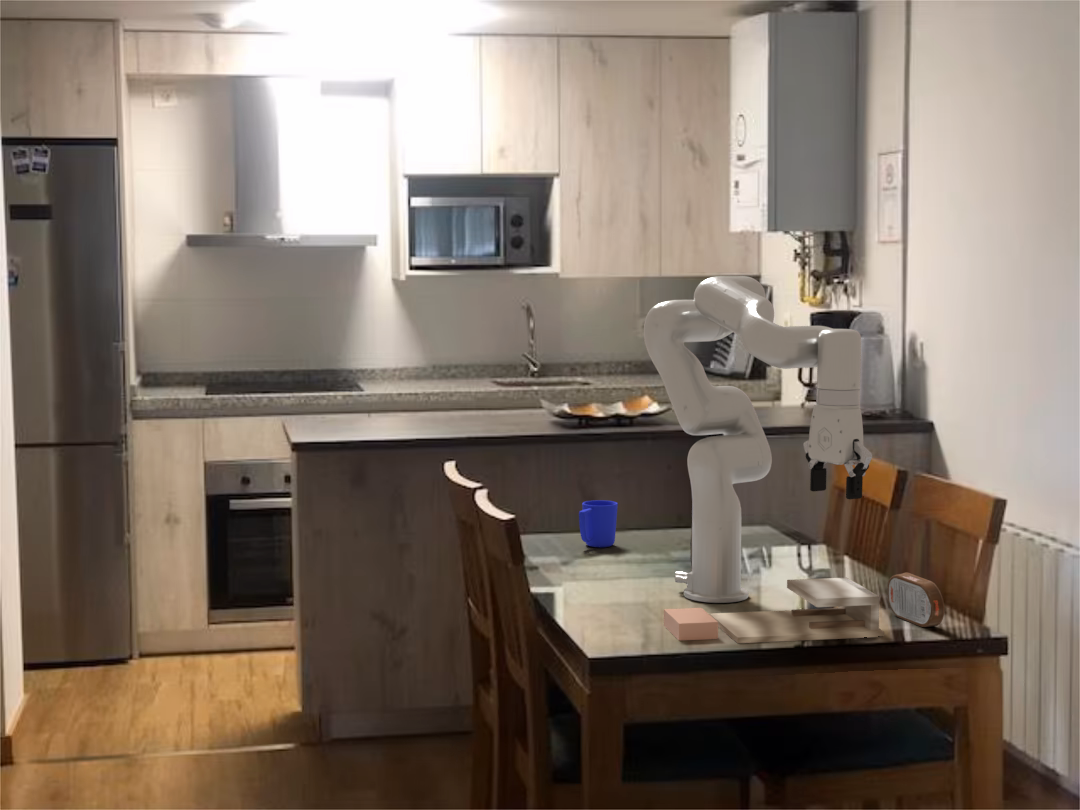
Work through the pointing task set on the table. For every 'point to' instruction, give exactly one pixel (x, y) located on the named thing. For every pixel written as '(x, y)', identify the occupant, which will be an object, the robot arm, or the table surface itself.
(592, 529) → the mug
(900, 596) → the tin
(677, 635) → the peach pink brick
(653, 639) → the table surface
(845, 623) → the shelf
